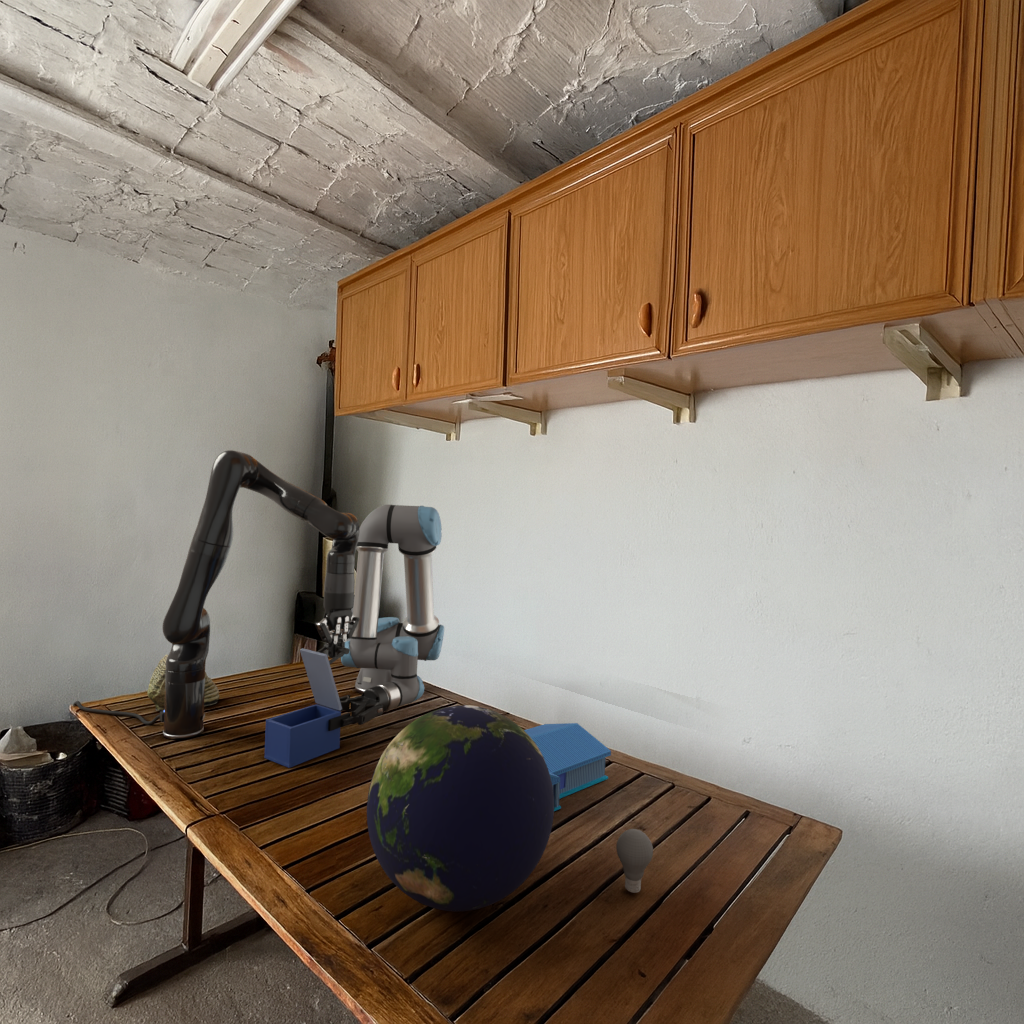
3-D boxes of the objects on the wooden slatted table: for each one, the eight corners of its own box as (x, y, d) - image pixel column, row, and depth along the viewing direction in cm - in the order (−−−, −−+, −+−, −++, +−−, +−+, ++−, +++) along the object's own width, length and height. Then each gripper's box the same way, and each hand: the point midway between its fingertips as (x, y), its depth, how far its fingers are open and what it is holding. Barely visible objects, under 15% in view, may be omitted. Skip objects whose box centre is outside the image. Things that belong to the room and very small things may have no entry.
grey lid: (324, 656, 154) (348, 639, 160) (299, 649, 159) (323, 634, 165) (340, 710, 159) (362, 692, 165) (315, 703, 164) (338, 685, 170)
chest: (289, 768, 147) (290, 728, 147) (264, 758, 152) (265, 719, 152) (339, 748, 160) (341, 711, 160) (315, 739, 165) (316, 703, 165)
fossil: (144, 707, 182) (145, 655, 182) (212, 696, 194) (213, 647, 194) (151, 716, 175) (153, 662, 175) (221, 703, 188) (223, 653, 188)
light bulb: (610, 879, 108) (613, 822, 108) (644, 879, 109) (647, 822, 109) (619, 902, 102) (622, 840, 102) (655, 901, 103) (658, 840, 103)
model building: (490, 838, 120) (492, 786, 120) (417, 791, 138) (419, 745, 138) (619, 783, 146) (621, 740, 146) (544, 749, 164) (545, 711, 164)
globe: (322, 922, 94) (330, 722, 94) (423, 829, 122) (430, 674, 122) (507, 988, 83) (517, 762, 83) (572, 869, 111) (580, 699, 110)
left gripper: (328, 594, 155) (325, 664, 156) (369, 589, 167) (366, 654, 167) (308, 590, 159) (304, 659, 160) (349, 586, 171) (346, 650, 171)
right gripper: (408, 721, 172) (345, 746, 153) (352, 704, 184) (287, 725, 165) (409, 693, 172) (347, 715, 153) (353, 678, 183) (288, 697, 165)
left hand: (336, 656), depth 163 cm, fingers closed
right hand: (315, 720), depth 159 cm, fingers closed on chest, 9 cm apart
